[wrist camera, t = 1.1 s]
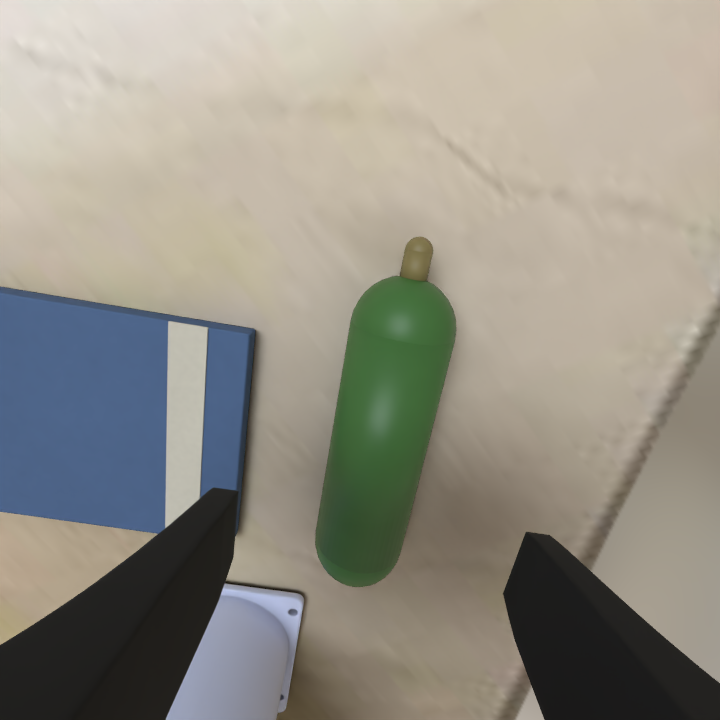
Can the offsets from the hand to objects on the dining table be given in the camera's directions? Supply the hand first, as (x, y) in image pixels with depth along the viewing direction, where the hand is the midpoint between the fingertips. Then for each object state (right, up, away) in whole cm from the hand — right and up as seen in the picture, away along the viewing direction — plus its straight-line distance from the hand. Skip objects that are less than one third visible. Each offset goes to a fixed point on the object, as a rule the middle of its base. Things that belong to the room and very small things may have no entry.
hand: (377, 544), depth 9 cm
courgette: (0, +2, +9) cm, 9 cm away
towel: (-16, +2, +8) cm, 18 cm away
